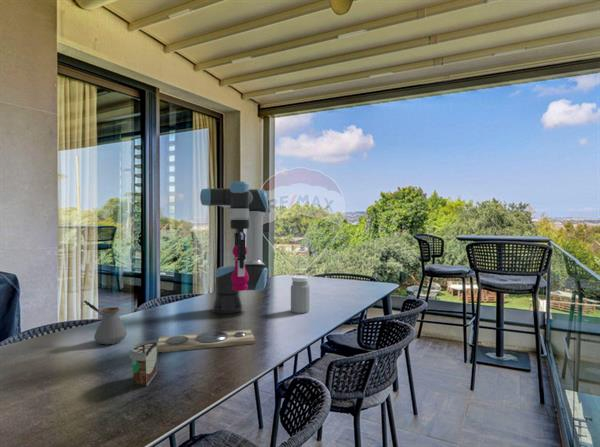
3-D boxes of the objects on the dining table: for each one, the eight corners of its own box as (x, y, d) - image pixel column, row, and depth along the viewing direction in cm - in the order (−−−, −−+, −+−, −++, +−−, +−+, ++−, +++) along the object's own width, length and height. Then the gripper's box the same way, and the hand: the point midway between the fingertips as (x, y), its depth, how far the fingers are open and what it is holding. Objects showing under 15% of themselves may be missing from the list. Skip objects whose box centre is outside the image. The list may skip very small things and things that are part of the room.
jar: (287, 312, 189) (287, 277, 189) (295, 308, 198) (295, 274, 198) (305, 314, 185) (305, 278, 185) (312, 310, 195) (312, 275, 194)
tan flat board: (159, 340, 147) (159, 336, 147) (250, 332, 157) (250, 329, 157) (155, 353, 133) (155, 348, 133) (255, 343, 143) (255, 339, 143)
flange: (166, 338, 145) (166, 337, 145) (188, 336, 147) (188, 335, 147) (165, 345, 137) (165, 343, 137) (187, 343, 139) (187, 341, 139)
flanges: (196, 334, 150) (196, 332, 150) (243, 330, 155) (243, 328, 155) (196, 344, 138) (196, 342, 138) (247, 339, 143) (247, 337, 143)
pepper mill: (245, 291, 149) (245, 241, 149) (228, 290, 150) (228, 241, 150) (251, 287, 156) (250, 240, 156) (234, 287, 157) (234, 240, 157)
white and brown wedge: (138, 371, 118) (137, 340, 117) (158, 370, 118) (157, 339, 118) (122, 389, 105) (122, 354, 105) (145, 388, 106) (144, 353, 106)
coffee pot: (133, 339, 148) (133, 302, 148) (108, 348, 138) (107, 308, 138) (96, 332, 157) (96, 297, 157) (70, 341, 147) (70, 303, 146)
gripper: (227, 219, 161) (227, 272, 161) (233, 219, 142) (233, 279, 143) (244, 219, 163) (245, 271, 163) (253, 219, 145) (253, 278, 145)
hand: (239, 274), depth 153 cm, fingers closed on pepper mill, 6 cm apart
